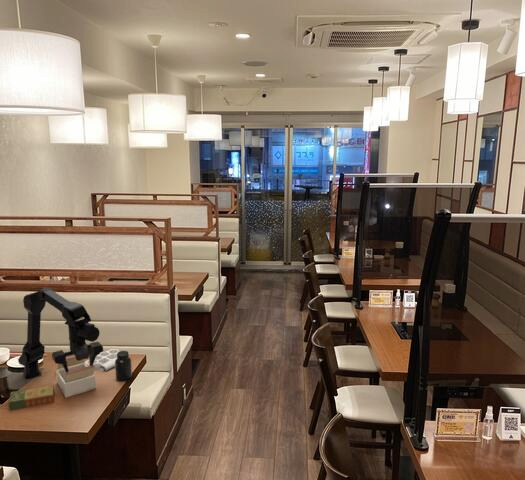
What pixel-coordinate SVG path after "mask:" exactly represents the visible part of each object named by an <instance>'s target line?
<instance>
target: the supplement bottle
mask: <svg viewBox="0 0 525 480" xmlns="http://www.w3.org/2000/svg"><path fill="white" fill-rule="evenodd" d="M114 368H115V379H116V381H118V382H127V381H130V379H131V378H132V377H133V374H132V373H133V371H132V359H131V357H130V355H129V352H128V350H121V351H120V350H119V352H118V353H117V359H116V360H115V366H114Z"/></svg>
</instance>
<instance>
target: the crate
mask: <svg viewBox="0 0 525 480" xmlns="http://www.w3.org/2000/svg"><path fill="white" fill-rule="evenodd" d="M85 367H87V365H86V364H85V362H84V363H80V364H76V365H73V366H69V367H68V372H70V371H74V370H78V369H81V368H85ZM55 372H56V373H55V375H56V384H57V386H58V387H59V389H60V390H61V392H62V394H63V396H64V397H65V398H69V397H73V396H76V395H79V394H83V393H86V392H90V391H93V389H94V390H96V376H95V373H94V374H93V375H90V376H87V377H83V378H79V379H76V380H72V381H69V382H66V381H65V379H66V371H65V369H64V368H61V369H57V370H55Z"/></svg>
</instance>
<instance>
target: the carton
mask: <svg viewBox="0 0 525 480" xmlns="http://www.w3.org/2000/svg"><path fill="white" fill-rule="evenodd" d="M55 395H56V394H55V386H54V384H49V385H44V386H39V387H33V388H27V389H21V390H20V389H19V390H16V391H11V392H10V395H9V400H8V410H9V411H16V410H21V409H26V408H31V407H37V406H38V407H39V406H42V405H48V404H54V403H55Z"/></svg>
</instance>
